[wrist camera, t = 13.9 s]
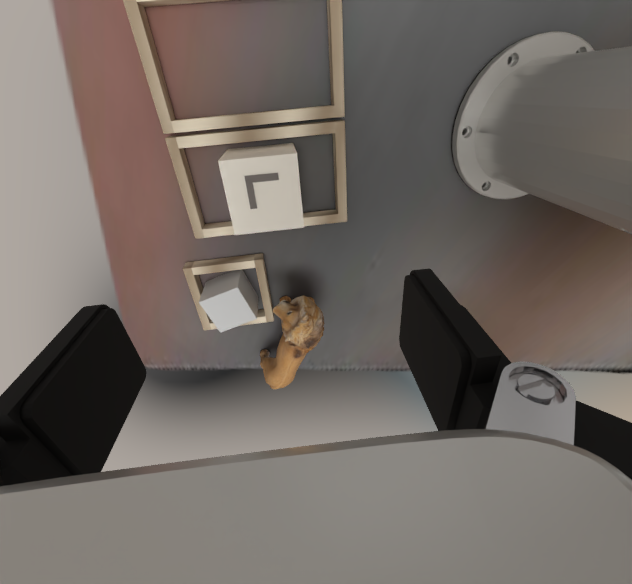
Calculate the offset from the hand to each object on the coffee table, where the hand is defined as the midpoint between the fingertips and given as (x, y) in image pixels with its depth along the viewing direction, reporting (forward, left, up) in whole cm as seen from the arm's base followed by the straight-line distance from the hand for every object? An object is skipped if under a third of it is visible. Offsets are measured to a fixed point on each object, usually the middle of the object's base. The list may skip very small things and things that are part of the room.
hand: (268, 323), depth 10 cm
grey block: (+6, +11, -21) cm, 24 cm away
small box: (+6, +11, -21) cm, 24 cm away
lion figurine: (+1, +16, -21) cm, 26 cm away
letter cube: (+1, 0, -21) cm, 21 cm away
